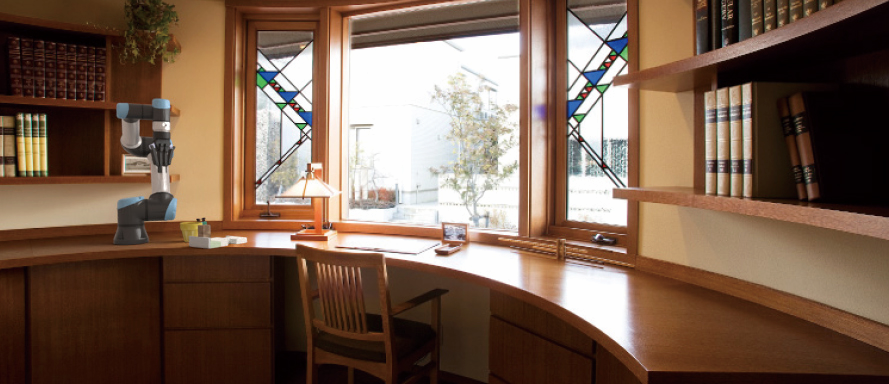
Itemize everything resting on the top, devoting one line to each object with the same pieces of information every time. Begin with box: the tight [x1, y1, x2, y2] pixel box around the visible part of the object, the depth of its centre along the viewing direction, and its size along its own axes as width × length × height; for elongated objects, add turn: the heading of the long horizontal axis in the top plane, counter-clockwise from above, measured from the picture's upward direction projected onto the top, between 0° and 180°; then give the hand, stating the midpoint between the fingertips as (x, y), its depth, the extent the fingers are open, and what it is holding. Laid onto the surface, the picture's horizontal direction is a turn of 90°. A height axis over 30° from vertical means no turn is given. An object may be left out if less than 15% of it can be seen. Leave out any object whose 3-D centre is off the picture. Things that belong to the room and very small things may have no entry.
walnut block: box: [198, 224, 212, 241], centre depth 245 cm, size 4×4×8 cm
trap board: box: [188, 235, 248, 249], centre depth 253 cm, size 23×14×5 cm, turn 154°
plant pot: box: [179, 221, 202, 243], centre depth 262 cm, size 10×10×10 cm
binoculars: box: [196, 217, 208, 225], centre depth 280 cm, size 9×11×10 cm
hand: (162, 179), depth 244 cm, fingers closed
